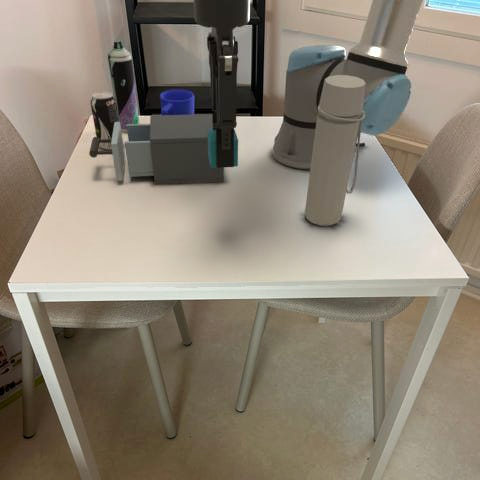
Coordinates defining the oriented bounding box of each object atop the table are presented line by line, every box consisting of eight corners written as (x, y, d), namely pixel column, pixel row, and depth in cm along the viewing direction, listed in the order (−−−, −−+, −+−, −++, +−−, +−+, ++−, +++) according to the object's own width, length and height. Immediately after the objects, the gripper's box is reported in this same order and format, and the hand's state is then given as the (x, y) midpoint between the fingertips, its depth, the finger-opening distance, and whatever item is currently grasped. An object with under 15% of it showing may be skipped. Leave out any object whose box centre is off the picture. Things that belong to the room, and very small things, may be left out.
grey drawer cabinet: (154, 184, 102) (149, 139, 95) (154, 158, 111) (150, 115, 105) (223, 181, 104) (223, 136, 97) (218, 156, 113) (217, 113, 106)
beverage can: (97, 142, 117) (88, 90, 109) (121, 140, 118) (113, 89, 110) (99, 152, 113) (89, 99, 105) (123, 150, 114) (116, 97, 106)
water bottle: (312, 231, 90) (333, 90, 73) (297, 210, 95) (313, 74, 78) (357, 225, 92) (387, 86, 75) (340, 204, 97) (364, 71, 80)
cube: (234, 154, 81) (234, 128, 78) (237, 166, 77) (238, 139, 74) (208, 156, 80) (207, 129, 77) (210, 167, 77) (210, 140, 74)
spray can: (128, 134, 121) (116, 45, 108) (114, 128, 124) (100, 41, 110) (144, 127, 124) (134, 41, 111) (129, 122, 127) (118, 37, 113)
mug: (151, 146, 116) (146, 103, 109) (171, 128, 125) (168, 87, 118) (182, 151, 114) (179, 108, 108) (200, 132, 123) (199, 91, 116)
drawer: (92, 181, 100) (85, 144, 95) (97, 157, 109) (90, 122, 103) (181, 178, 102) (179, 141, 97) (179, 154, 111) (177, 120, 105)
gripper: (188, -22, 68) (195, 139, 84) (199, 2, 56) (205, 186, 72) (240, -23, 69) (237, 137, 85) (262, 1, 57) (254, 183, 73)
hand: (223, 159), depth 79 cm, fingers closed on cube, 4 cm apart
